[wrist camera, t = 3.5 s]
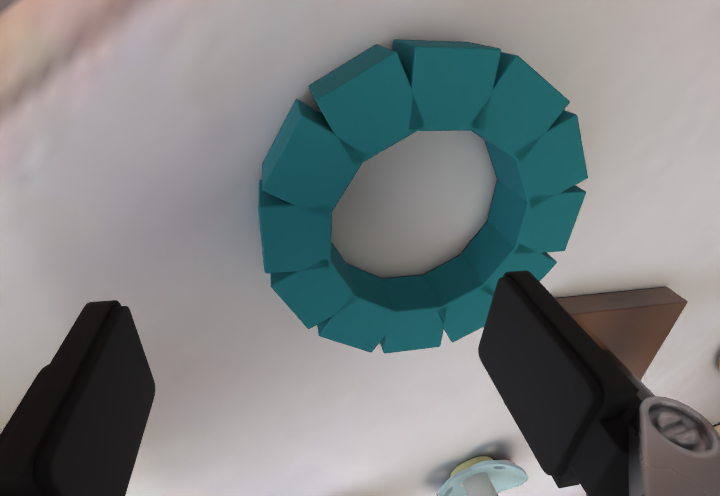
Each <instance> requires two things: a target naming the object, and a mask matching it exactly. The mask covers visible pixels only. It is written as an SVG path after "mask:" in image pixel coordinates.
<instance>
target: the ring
mask: <svg viewBox="0 0 720 496" xmlns="http://www.w3.org/2000/svg"><path fill="white" fill-rule="evenodd" d="M309 89H310V91H311V93H312V95H313V97H314V99H315V101H316V103H317V104H318V106H319V108H320V110H321V112H322V113H323V114H322V113H320V112H318V111H317V110H315V109H313V108H312V107H310V106H308V105H307V104H305V103H303V102H301V101H300V100H298V99H296V100H295V102H294V104H293V106H292V108H291V110H290V112H289V114H288V115H287V117H286V119H285V121H284V123H283V125H282V127H281V129H280V131H279V133H278V135H277V137H276V139H275V140H274V142H273V144H272V146H271V148H270V150H269V152H268V154H267V156H266V158H265V160H264V162H263V164H262V180H260V181H259V201H258V210H259V220H260V231H261V241H262V251H263V261H264V271H265V273H271V287H272V288H273V289H274V291H275V292H276V293H277V294H278V295H279V296H280V297H281V299H282V300H283V301H284V302H285V303H286V304H287V305H288V307H289V308H290V309H291V310H292V311H293V312H294V313H295V315H296V316H297V317H298V318H299V319H300V320H301V321H302V323H303V324H304V325H305V326H306V327H307V328H308V329H310V328H312V327H314V326H315V325H317V327H318V333H319V336H321V337H324V338H327V339H330V340H333V341H336V342H340V343H343V344H346V345H349V346H352V347H355V348H359V349H362V350H365V351H368V352H372V351H373V350H374V349H375V348H376V346H377V345H378V344H379V342H380V344H381V346H382V349H383V352H384V353H392V352H400V351H408V350H416V349H425V348H433V347H439V346H440V344H441V339H442V334H443V329H444V330H445V331H446V333H447V335H448V337H449V339H450V340H451V341H452V342H454V341H456V340H458V339H460V338H462V337H464V336H466V335H468V334H470V333H472V332H474V331H476V330H478V329H480V328H481V327H483V326H485V323H486V320H487V316H488V313H489V309H490V306H491V302H492V299H493V295H494V292H495V288H496V285H497V282H498V279H499V278H501V277H503V275H504V274H505V273H506V272H510V271H524V270H527V271H529V272H531V273H532V274H533V275H534V276H535V278H536V279H537V280H538V281H540V280H541V279H542V278H543V277H544V276H545V275H546V274H547V273H548V272H549V271H550V270H551V269H552V267H553V266H554V265H555V264H556V263H557V262H556V261H555V260H554V259H553V258H552V257H551V256H550V255H548V254H547V253H546V252H557V251H565V249H566V246H567V243H568V240H569V238H570V235H571V232H572V229H573V227H574V224H575V221H576V219H577V216H578V213H579V210H580V208H581V205H582V202H583V199H584V197H585V194H586V191H584V190H582V189H580V188H579V187H577V186H575V185H576V184H578V183H579V182H581V181H583V180H585V179H587V178H588V176H587V170H586V164H585V158H584V153H583V147H582V141H581V135H580V129H579V124H578V118H577V115H576V114H573V113H570V112H568V111H565V110H564V109H565V108H566V106H567V105H568V104H569V102H570V101H569V100H568V99H567V98H565V97H564V96H563V95H562V94H561V93H560V92H559V91H557V90H556V89H555V88H554V87H553V86H552V85H551V84H549V83H548V82H547V81H546V80H545V79H544V78H543V77H542V76H540V75H539V74H538V73H537V72H536V71H535V70H534V69H532V68H531V67H530V66H529V65H528V64H527V63H526V62H524V61H523V60H522V59H521V58H520V57H519V56H517V55H512V54H507V53H503V52H501V49H499V48H494V47H489V46H484V45H479V44H474V43H469V42H450V41H422V40H394V41H393V51H392V50H390V49H387V48H385V47H382V46H379V45H375V46H373V47H371V48H370V49H368V50H366V51H365V52H363V53H361V54H360V55H358V56H357V57H355V58H353V59H352V60H350V61H348V62H347V63H345V64H343V65H342V66H340V67H338V68H337V69H335V70H334V71H332V72H330V73H329V74H327V75H325V76H324V77H322V78H320V79H319V80H317V81H315V82H314V83H312V84H310V85H309ZM451 130H472V131H473V132H474V133H476V134H477V135H479V136H480V137H482V138H483V139H484V140H485V143H486V146H487V149H488V152H489V155H490V158H491V161H492V164H493V167H494V170H495V173H496V177H497V183H496V187H495V191H494V195H493V200H492V204H491V208H490V212H489V217H488V221H487V222H486V224H485V225H484V226H483V227H482V228H481V230H480V231H479V232H478V233H477V235H476V236H475V237H474V238H473V240H472V241H471V242H470V243H469V245H468V246H467V247H466V248H465V250H464V251H463V252H462V253H461V255H459V256H457V257H456V258H454V259H452V260H450V261H448V262H446V263H445V264H443V265H441V266H439V267H437V268H435V269H433V270H432V271H430V272H428V273H426V274H424V275H418V276H406V277H394V278H380V277H377V276H375V275H372V274H370V273H368V272H365V271H363V270H361V269H358V268H356V267H353V266H351V265H349V264H346V263H345V261H344V260H343V258H342V257H341V255H340V254H339V252H338V251H337V250H336V248H335V247H334V245H333V244H332V242H331V219H332V211H333V209H334V207H335V206H336V204H337V203H338V201H339V199H340V198H341V196H342V195H343V193H344V191H345V190H346V188H347V187H348V185H349V183H350V182H351V180H352V179H353V177H354V175H355V174H356V172H357V171H358V169H359V167H360V166H361V164H362V163H363V162H364V161H366V160H368V159H369V158H371V157H373V156H374V155H376V154H378V153H380V152H381V151H383V150H385V149H387V148H388V147H390V146H392V145H393V144H395V143H397V142H399V141H400V140H402V139H404V138H406V137H407V136H409V135H411V134H412V133H414V132H416V131H451Z"/></svg>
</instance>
